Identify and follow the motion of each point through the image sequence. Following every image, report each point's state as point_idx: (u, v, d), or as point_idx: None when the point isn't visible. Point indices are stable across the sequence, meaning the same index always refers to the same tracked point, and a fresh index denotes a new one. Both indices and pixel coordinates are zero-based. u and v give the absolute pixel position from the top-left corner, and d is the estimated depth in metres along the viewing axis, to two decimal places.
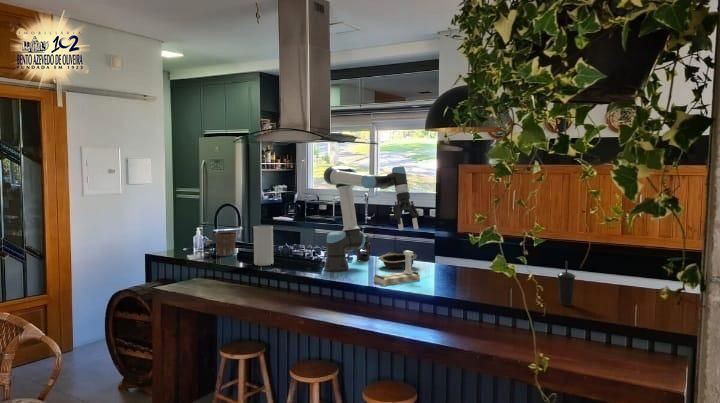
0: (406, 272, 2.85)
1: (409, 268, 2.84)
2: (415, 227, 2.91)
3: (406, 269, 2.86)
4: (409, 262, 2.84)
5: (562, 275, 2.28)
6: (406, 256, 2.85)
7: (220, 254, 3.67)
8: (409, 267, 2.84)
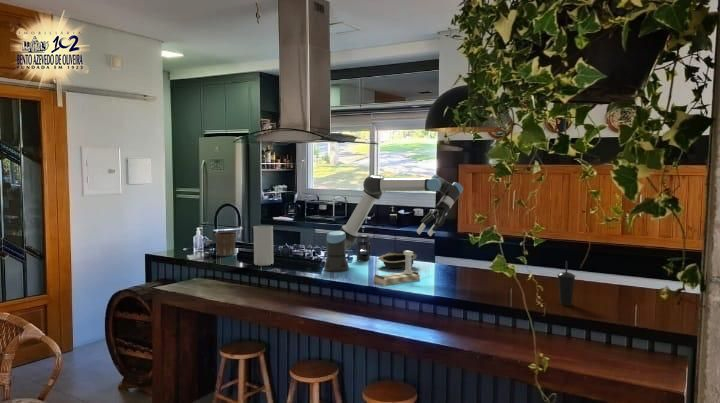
0: (406, 272, 2.85)
1: (409, 268, 2.84)
2: (419, 231, 2.95)
3: (406, 269, 2.86)
4: (409, 262, 2.84)
5: (562, 275, 2.28)
6: (406, 256, 2.85)
7: (220, 254, 3.67)
8: (409, 267, 2.84)
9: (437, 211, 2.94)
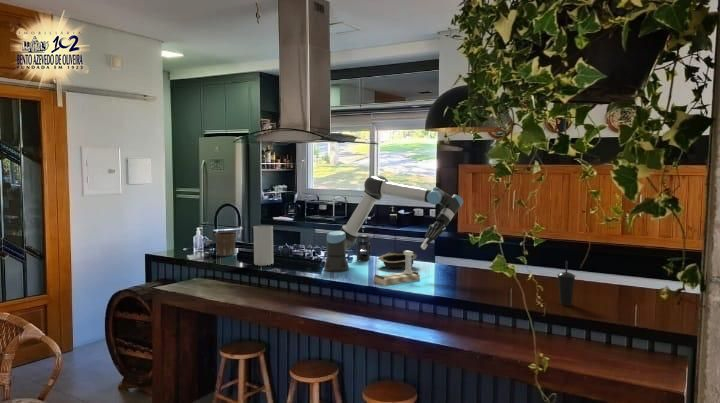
0: (406, 272, 2.85)
1: (409, 268, 2.84)
2: None
3: (406, 269, 2.86)
4: (409, 262, 2.84)
5: (562, 275, 2.28)
6: (406, 256, 2.85)
7: (220, 254, 3.67)
8: (409, 267, 2.84)
9: (437, 223, 2.94)
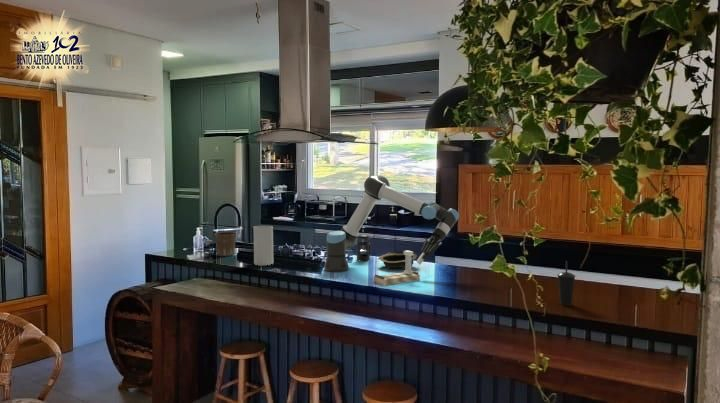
0: (406, 272, 2.85)
1: (409, 268, 2.84)
2: None
3: (406, 269, 2.86)
4: (409, 262, 2.84)
5: (562, 275, 2.28)
6: (406, 256, 2.85)
7: (220, 254, 3.67)
8: (409, 267, 2.84)
9: (433, 238, 2.93)
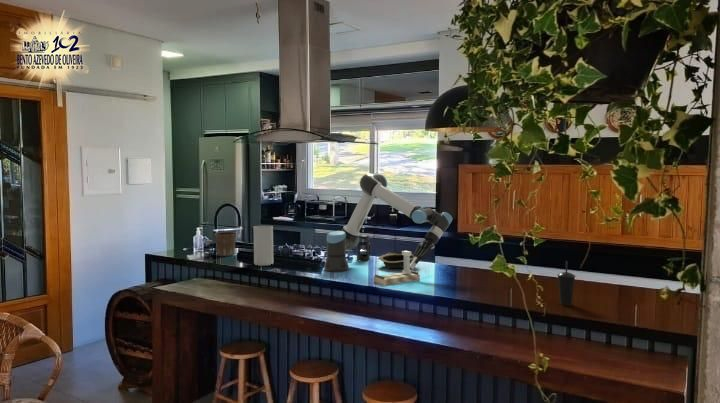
0: (404, 272, 2.84)
1: (407, 268, 2.84)
2: None
3: (404, 269, 2.85)
4: (407, 262, 2.84)
5: (562, 275, 2.28)
6: (404, 256, 2.85)
7: (220, 254, 3.67)
8: (407, 267, 2.84)
9: (426, 242, 2.90)
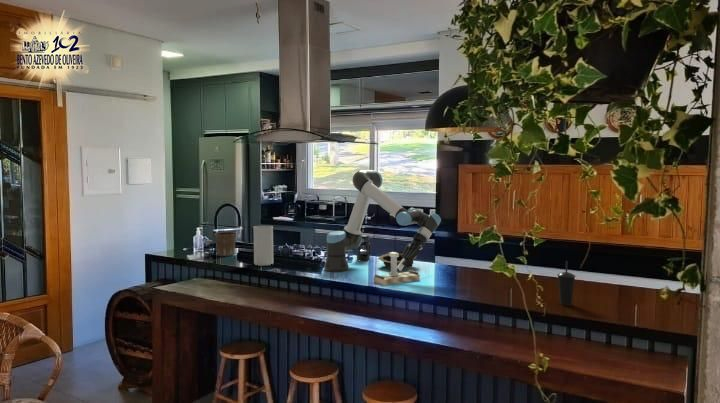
0: (391, 274, 2.80)
1: (394, 270, 2.79)
2: None
3: (391, 271, 2.81)
4: (394, 264, 2.79)
5: (562, 275, 2.28)
6: (391, 258, 2.80)
7: (220, 254, 3.67)
8: (394, 269, 2.79)
9: (414, 243, 2.85)
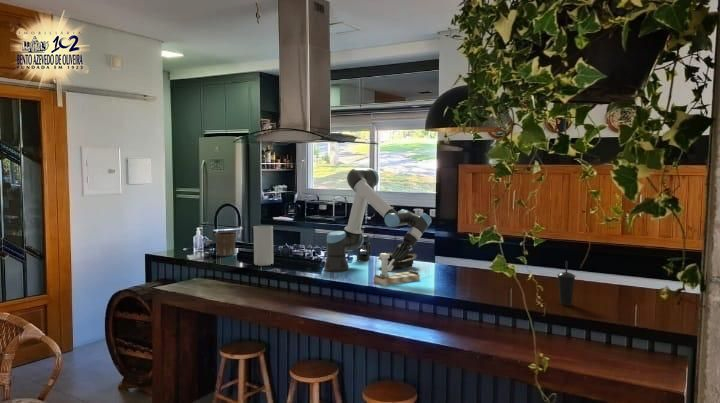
0: (382, 275, 2.76)
1: (385, 271, 2.76)
2: None
3: (382, 272, 2.77)
4: (385, 265, 2.76)
5: (562, 275, 2.28)
6: (382, 259, 2.77)
7: (220, 254, 3.67)
8: (385, 270, 2.76)
9: (404, 243, 2.83)
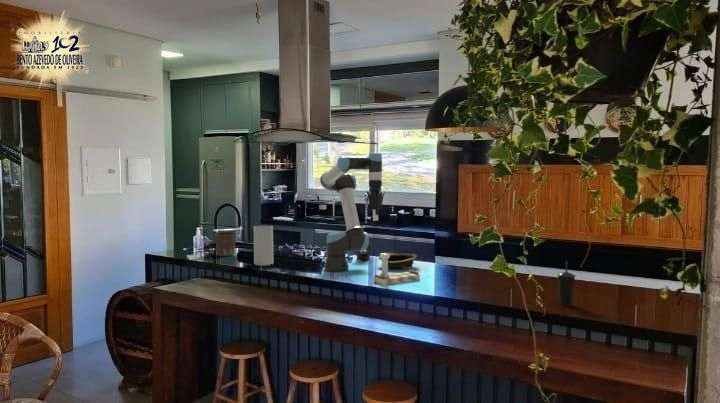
0: (382, 275, 2.76)
1: (385, 271, 2.76)
2: None
3: (382, 272, 2.77)
4: (385, 265, 2.76)
5: (562, 275, 2.28)
6: (382, 259, 2.77)
7: (220, 254, 3.67)
8: (385, 270, 2.76)
9: (373, 191, 2.91)
